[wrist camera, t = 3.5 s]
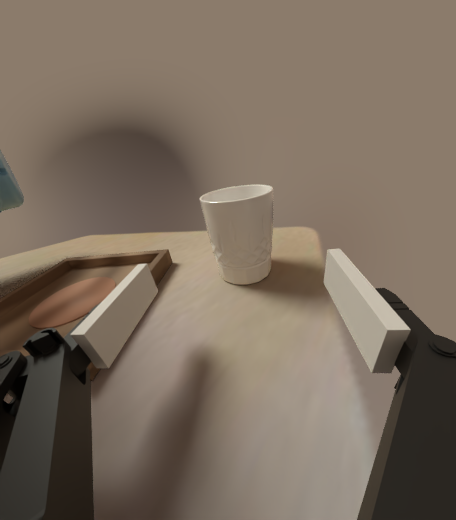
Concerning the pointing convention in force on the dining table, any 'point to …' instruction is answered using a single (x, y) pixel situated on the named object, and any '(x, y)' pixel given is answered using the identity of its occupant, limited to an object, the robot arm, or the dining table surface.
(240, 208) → the white cup
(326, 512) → the dining table surface
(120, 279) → the tray
